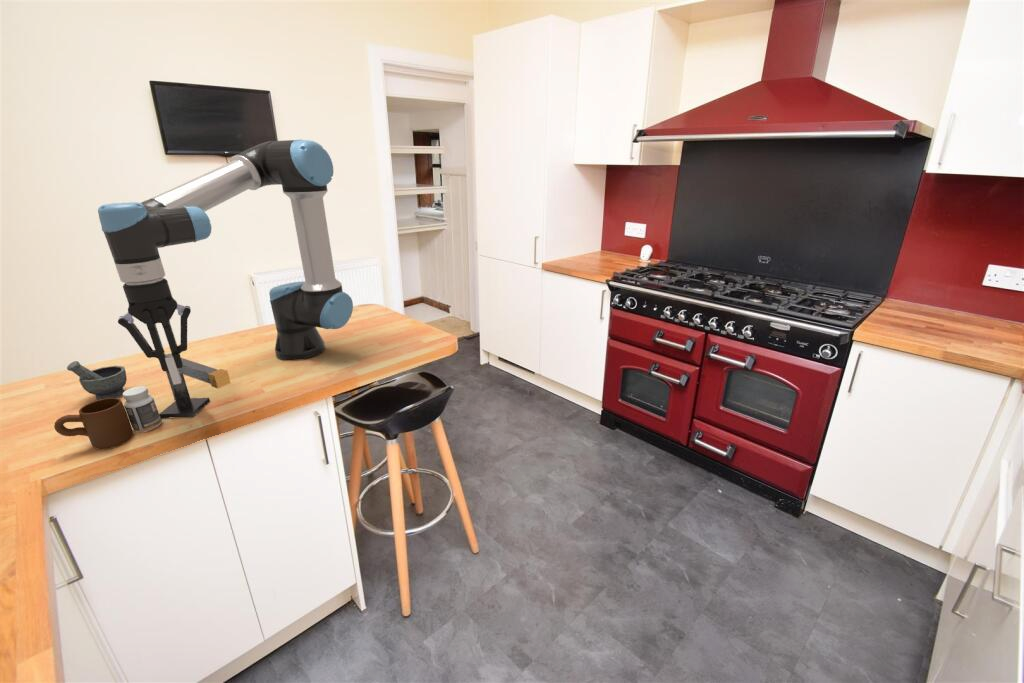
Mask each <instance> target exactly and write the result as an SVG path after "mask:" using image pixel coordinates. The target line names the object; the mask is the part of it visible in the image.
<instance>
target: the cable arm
mask: <svg viewBox="0 0 1024 683" xmlns="http://www.w3.org/2000/svg"><path fill="white" fill-rule="evenodd" d="M181 360H182V363H183V366H182V368H178V370H179V373H181V374H183V375H184V376H187V377H190V378H193V379H194V380H195V379H196V380H199V381H200V382H204V383H206V384H209V385H210V386H211V387H213V388H215V389H220V388H223V387H226V386H228V385H230V384H232V383H231V378H230V374H229V372H228V370H227V369H223V368H220V369H217V368H214V367H211V366H209V365H205V364H201V363H199V362H197V361H193V360H189V359H187V358H183V357H181ZM168 371H169V370H168ZM168 371H167V372H168Z"/></svg>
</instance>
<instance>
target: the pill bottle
mask: <svg viewBox="0 0 1024 683" xmlns="http://www.w3.org/2000/svg"><path fill="white" fill-rule="evenodd" d="M149 392H150V391H149V388H148V387H147V386H143V385H142V386H134V387H132V388H129V389H126V390H124V392H123V395H122V397H123V399H124V400H125V401H124V403H123V405H124V408H125V410H126V413H127V416H128V418H129V421H130V424H131V427H132V430H133V432H136V433H145V432H149V431H151V430H154V429H156V428H159V426H160V425H161V424H162V418H160V415H159V414H160V412H159V410H158V407H157V405H156V404H157V403H156V401H155V398H154V397H153V395H151V394H149Z"/></svg>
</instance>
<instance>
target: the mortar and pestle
mask: <svg viewBox="0 0 1024 683" xmlns="http://www.w3.org/2000/svg"><path fill="white" fill-rule="evenodd" d="M66 370H68V371H69V372H72V373H73V374H75V375H77V377H79V383H80V385H81V387H82V389H83V390H84V391H86V392H87V393H88V394H91V395H95V399H96V400H95V401H97V400H101V399H106V398H120V397H123V392H125V390H124V387H125V386H126V383H127V380H128V379H127V372H126V367H125V366H122V365H111V366H104V367H103V366H102V367H99V368H95V369H93V370H90V369H89V368H88V367H85V366H84V365H82V364H80V362H79V361H77V360H75V361H72V362H70V363H69V364H68V365H67V366H66Z"/></svg>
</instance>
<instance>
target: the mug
mask: <svg viewBox="0 0 1024 683" xmlns="http://www.w3.org/2000/svg"><path fill="white" fill-rule="evenodd" d="M66 423H82V425H83V427H82V426H79V427H73V428H68V427H66V426H65V424H66ZM53 427H54V430H55V431H56V433H58V434H59V435H61V436H63V437H76V436H82V437H88V439H89V442H90V445H91V446H92V447H93V448H94V449H96V450H108V449H113V448H116V447H119V446H122V445H124V444H126V443H127V442H129V441H130V440H131V439H132V438H133V436H134V430H133V428H132V425H131V423H130V420H129V417H128V415H127V412H126V410H125V407H124V403H123V402H122V400H121V398H120V397H118V398H106V399H101V400H94V401H91V402H89V403H86V404H85V405H83V406H82V407H80V409H79V410H78V414H66V415H63V416H61V417H59V418H57V420H56V421H55V422H54V425H53Z"/></svg>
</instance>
